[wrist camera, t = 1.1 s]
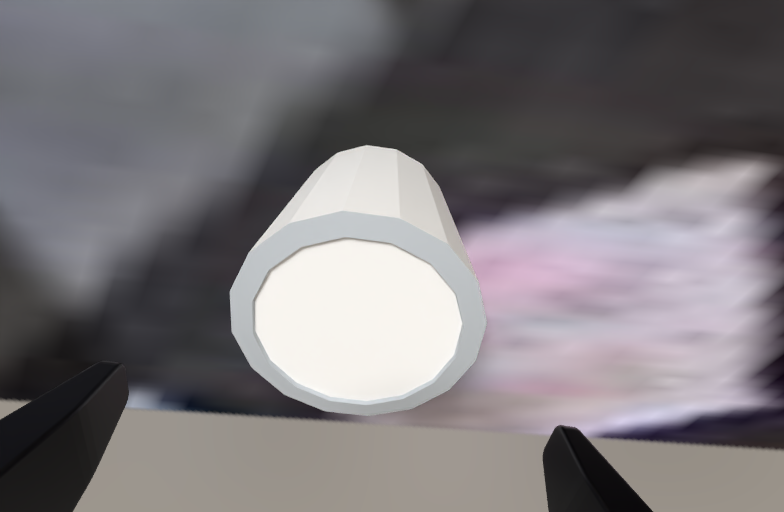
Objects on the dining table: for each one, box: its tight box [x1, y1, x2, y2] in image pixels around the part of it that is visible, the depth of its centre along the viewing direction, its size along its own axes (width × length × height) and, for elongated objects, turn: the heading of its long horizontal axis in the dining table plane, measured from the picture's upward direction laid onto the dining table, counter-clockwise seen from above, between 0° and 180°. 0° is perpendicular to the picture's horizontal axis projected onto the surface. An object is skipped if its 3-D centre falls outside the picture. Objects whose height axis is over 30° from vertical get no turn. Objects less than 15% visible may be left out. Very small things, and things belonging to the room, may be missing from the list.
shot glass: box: [230, 145, 487, 416], centre depth 16 cm, size 7×7×7 cm
